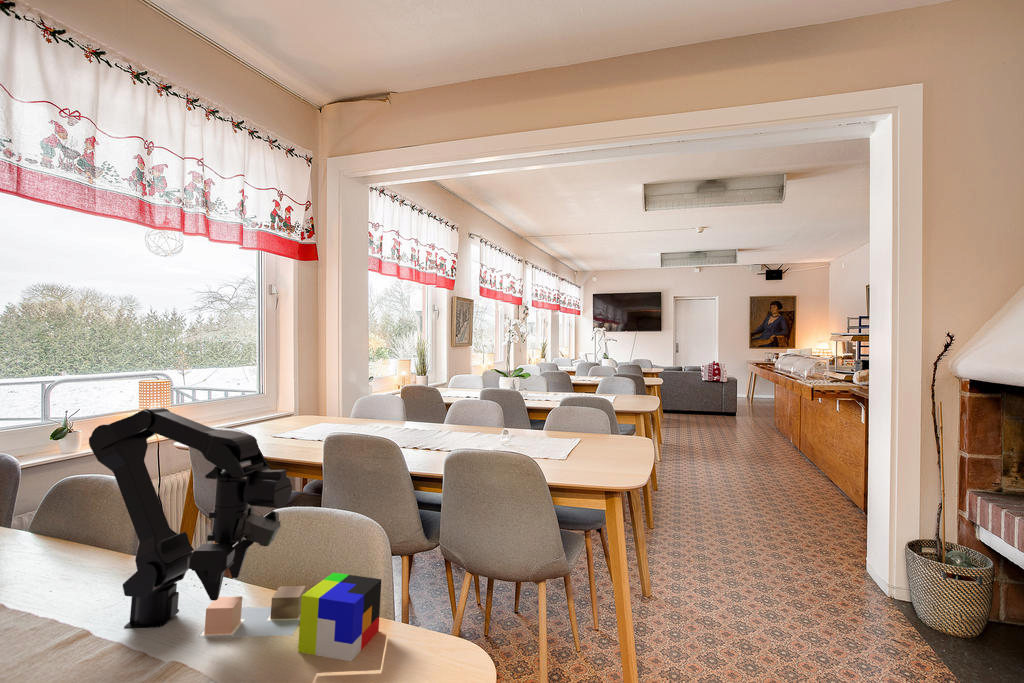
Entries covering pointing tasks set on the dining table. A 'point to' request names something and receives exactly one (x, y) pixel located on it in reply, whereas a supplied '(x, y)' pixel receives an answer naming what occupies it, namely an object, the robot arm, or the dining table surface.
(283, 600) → the block
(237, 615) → the terracotta block
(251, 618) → the board
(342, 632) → the puzzle toy
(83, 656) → the dining table surface
